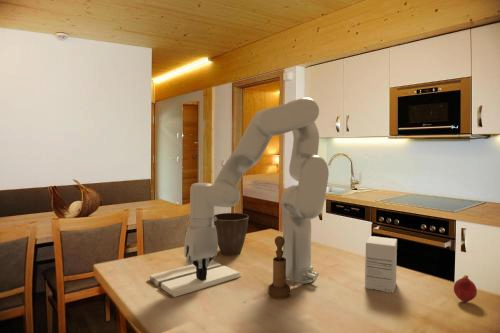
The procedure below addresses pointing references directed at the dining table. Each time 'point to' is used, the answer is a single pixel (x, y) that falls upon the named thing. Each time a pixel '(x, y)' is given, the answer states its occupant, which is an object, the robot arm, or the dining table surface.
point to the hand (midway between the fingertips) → (201, 279)
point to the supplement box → (381, 263)
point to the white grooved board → (178, 276)
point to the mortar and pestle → (279, 273)
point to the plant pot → (231, 232)
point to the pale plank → (198, 281)
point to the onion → (465, 289)
